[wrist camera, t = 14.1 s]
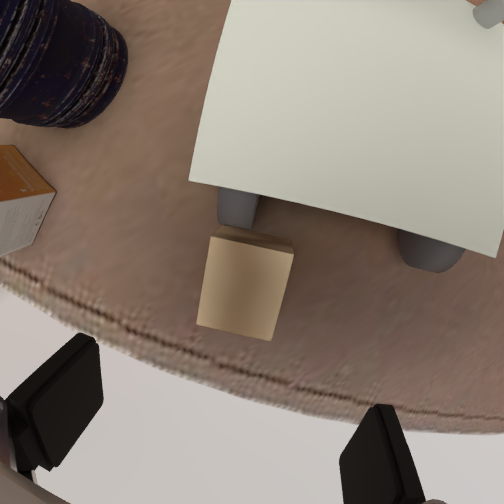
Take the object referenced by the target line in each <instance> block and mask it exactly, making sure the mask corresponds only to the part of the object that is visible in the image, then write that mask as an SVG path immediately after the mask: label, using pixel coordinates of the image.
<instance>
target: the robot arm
mask: <svg viewBox="0 0 504 504" xmlns="http://www.w3.org/2000/svg"><path fill="white" fill-rule="evenodd" d="M100 368H101V367H100V354H99V345H98V344H97V343H96V341H95V339H94V338H93V337H91V336H88V335H86V334H83V333H78V334H76V335H75V336H74V337H73V338H72V339H71V340H69V341H68V342H67V343H66V344H65V345H64V346H62V347H61V348H60V349H59V350H58V351H57V352H56V353H55V354H53V355H52V356H51V357H50V358H49V359H48V360H47V361H46V362H45V363H43V364H42V365H41V366H40V367H39V368H38V369H37V370H36V371H35V372H33V373H32V374H31V375H30V376H29V377H28V378H27V379H26V380H25V381H24V382H23V383H22V384H20V385H19V386H18V387H17V388H16V389H15V390H14V391H13V392H12V393H11V394H10V395H9V396H8V398H6V399H5V400H3V398H2V397H1V396H0V504H70V503H68V502H66V501H65V500H63V499H61V498H59V497H57V496H55V495H54V494H52V493H50V492H49V491H47V490H45V489H43V488H42V487H40V486H38V485H37V480H36V474H35V469H36V468H37V467H38V465H39V466H41V467H43V468H45V469H46V470H48V471H49V472H50V471H51V470H52V468H53V467H58V466H59V465H60V464H61V462H62V461H63V459H64V458H65V457H66V455H67V454H68V452H69V451H70V449H71V448H72V447H73V445H74V444H75V442H76V441H77V439H78V438H79V437H80V435H81V434H82V432H83V431H84V430H85V428H86V427H87V426H88V424H89V423H90V421H91V420H92V418H93V417H94V416H95V414H96V413H97V411H98V410H99V409H100V408H101V406H102V404H103V399H104V398H103V389H102V379H101V369H100ZM339 466H340V474H341V483H342V491H343V501H344V504H446V503H445V502H444V501H441V500H435V499H432V500H428V501H426V499H425V496H424V493H423V490H422V486H421V483H420V480H419V477H418V474H417V470H416V467H415V465H414V461H413V458H412V456H411V453H410V450H409V447H408V445H407V443H406V439H405V437H404V434H403V431H402V428H401V426H400V423H399V420H398V417H397V415H396V412H395V409H394V407H393V406H392V405H387V404H376V405H374V407H370V408H369V409H368V411H367V413H366V414H365V416H364V418H363V420H362V421H361V423H360V425H359V426H358V428H357V430H356V431H355V433H354V435H353V436H352V438H351V439H350V441H349V443H348V444H347V446H346V447H345V449H344V450H343V452H342V454H341V456H340V459H339Z"/></svg>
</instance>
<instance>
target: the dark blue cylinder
mask: <svg viewBox="0 0 504 504" xmlns="http://www.w3.org/2000/svg"><path fill="white" fill-rule="evenodd" d="M127 64H128V50H127V46H126V42H125V40H124V38H123V37H122V35H121V34H120V33H119V32H118V31H117V30H116V29H114V28H113V27H111V26H110V25H109V24H108V23H107V22H106V21H105V19H104V18H102V17H101V16H100V15H98V14H97V13H95V12H93V11H91V10H89V9H88V8H86V7H85V6H83V5H81V4H79V3H75V2H72V1H70V0H0V118H6V119H12V120H13V121H15V122H17V123H21V124H26V125H33V126H40V127H61V128H75V127H78V126H82V125H84V124H86V123H88V122H90V121H91V120H93V119H94V118H96V117H97V116H98V115H99V114H100V113H102V112H103V111H104V110H105V109H106V107H107V106H108V105H109V104H110V103H111V101H112V100H113V99H114V97H115V96H116V94H117V92H118V91H119V89H120V87H121V84H122V82H123V80H124V77H125V74H126V70H127Z"/></svg>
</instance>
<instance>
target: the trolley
mask: <svg viewBox="0 0 504 504" xmlns="http://www.w3.org/2000/svg"><path fill="white" fill-rule="evenodd" d="M502 21H504V0H485V1H484V2H482V3H481V4H480V5H478V6H477V7H476V6H474V5H473V4H471V3H469V2H468V1H466V0H232V1H231V4H230V8H229V11H228V14H227V18H226V21H225V24H224V28H223V31H222V35H221V39H220V42H219V46H218V50H217V53H216V57H215V61H214V65H213V69H212V73H211V77H210V81H209V85H208V89H207V94H206V98H205V102H204V107H203V111H202V115H201V120H200V125H199V129H198V134H197V139H196V144H195V149H194V154H193V159H192V164H191V170H190V175H189V181H194V182H199V183H205V184H210V185H215V186H219V195H218V210H217V213H218V221H219V223H220V224H225V225H230V226H234V227H239V228H244V229H248V230H252V227H253V223H254V220H255V216H256V212H257V208H258V203H259V199H260V195H265V196H269V197H274V198H278V199H283V200H287V201H292V202H296V203H301V204H305V205H309V206H314V207H318V208H322V209H326V210H330V211H334V212H338V213H342V214H346V215H350V216H354V217H358V218H362V219H366V220H369V221H373V222H377V223H381V224H384V225H388V226H392V227H395V228H398V241H399V249H400V253H401V256H402V258H403V260H404V262H405V263H406V264H407V265H409V266H410V267H414V268H418V269H423V270H427V271H431V272H435V273H441V272H444V271H446V270H448V269H449V268H451V267H452V266H453V265H454V264H455V263H456V262H457V261H458V260H459V259H460V257H461V256H462V254H463V253H464V251H465V249H469V250H472V251H475V252H478V253H481V254H484V255H487V256H490V257H493V258H496V255H497V252H498V248H499V245H500V241H501V237H502V234H503V230H504V24H502V23H501V22H502Z"/></svg>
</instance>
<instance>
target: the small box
mask: <svg viewBox="0 0 504 504" xmlns="http://www.w3.org/2000/svg"><path fill="white" fill-rule="evenodd" d="M55 193H56V191H55V190H54V189H53V188H52V187H51V186H50V185H48V184H47V182H46V181H45V180H44V179H43V178H42V177H41V176H40V175H39V174H38V173H37V172H36V171H35V170H34V169H33V168H32V166H31V165H30V164H29V163H28V162H27V161H26V160H25V158H24V157H23V156H22V155H21V154H20V153H19V151H18V150H17V149H16V148H15V146H14V145H0V257H2V256H4V255H7V254H9V253H12V252H14V251H17V250H19V249H22V248H24V247H27V246H29V245H32V243H33V241H34V239H35V237H36V234H37V232H38V230H39V227H40V225H41V223H42V221H43V218H44V216H45V214H46V212H47V210H48V208H49V205H50V203H51V201H52V199H53V197H54V195H55Z"/></svg>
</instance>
